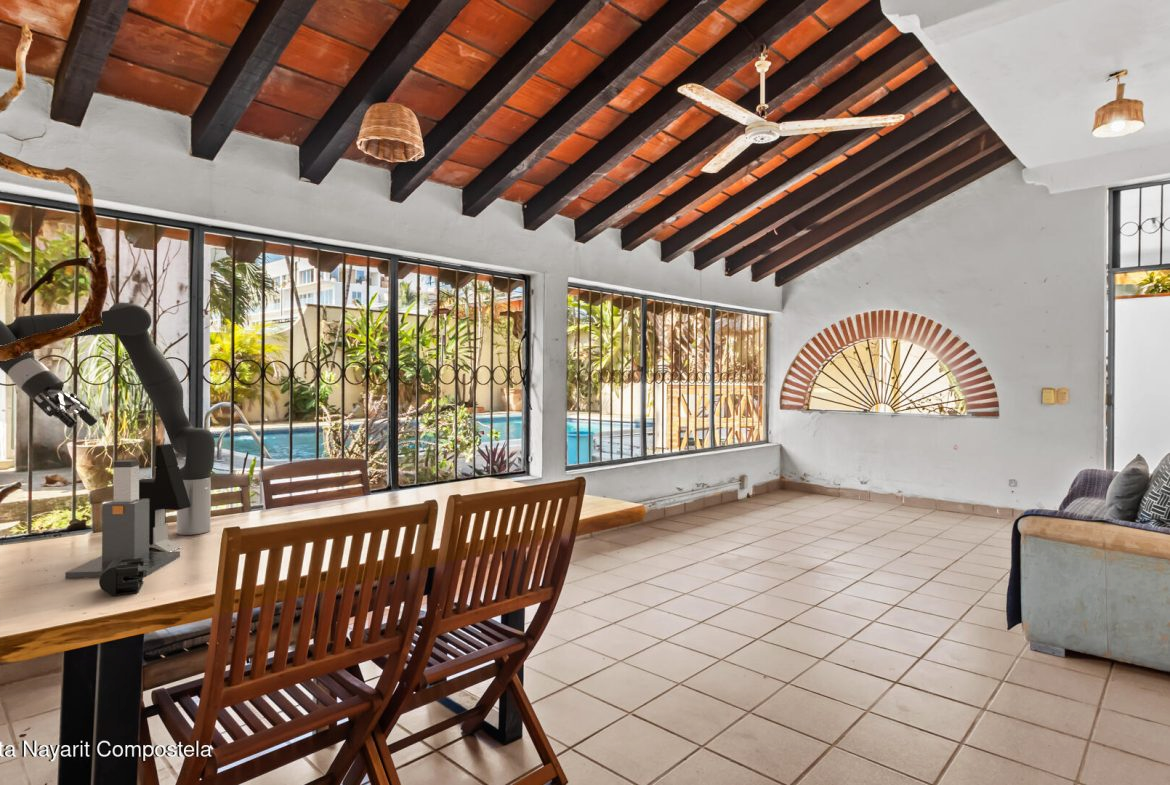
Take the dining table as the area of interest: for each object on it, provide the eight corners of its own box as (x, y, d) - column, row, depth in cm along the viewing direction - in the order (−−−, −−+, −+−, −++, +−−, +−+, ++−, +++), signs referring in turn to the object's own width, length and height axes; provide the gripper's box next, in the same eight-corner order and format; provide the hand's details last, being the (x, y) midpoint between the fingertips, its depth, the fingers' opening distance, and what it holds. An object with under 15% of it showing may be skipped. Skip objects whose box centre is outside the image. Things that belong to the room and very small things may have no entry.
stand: (107, 558, 175) (107, 495, 175) (179, 556, 178) (180, 494, 178) (65, 578, 157) (65, 508, 157) (146, 576, 160) (146, 507, 160)
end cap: (107, 586, 152) (107, 557, 152) (143, 582, 155) (144, 554, 155) (98, 599, 143) (98, 568, 143) (137, 594, 146) (137, 565, 146)
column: (121, 555, 169) (122, 459, 169) (139, 555, 170) (139, 459, 170) (113, 559, 165) (113, 461, 165) (130, 559, 166) (131, 461, 166)
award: (191, 548, 187) (192, 444, 187) (178, 552, 182) (178, 445, 182) (142, 546, 189) (143, 443, 188) (128, 550, 184) (128, 444, 183)
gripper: (28, 368, 160) (78, 415, 162) (65, 370, 175) (111, 413, 176) (3, 389, 160) (55, 436, 161) (42, 389, 174) (89, 433, 175)
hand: (84, 424), depth 169 cm, fingers open, 8 cm apart
